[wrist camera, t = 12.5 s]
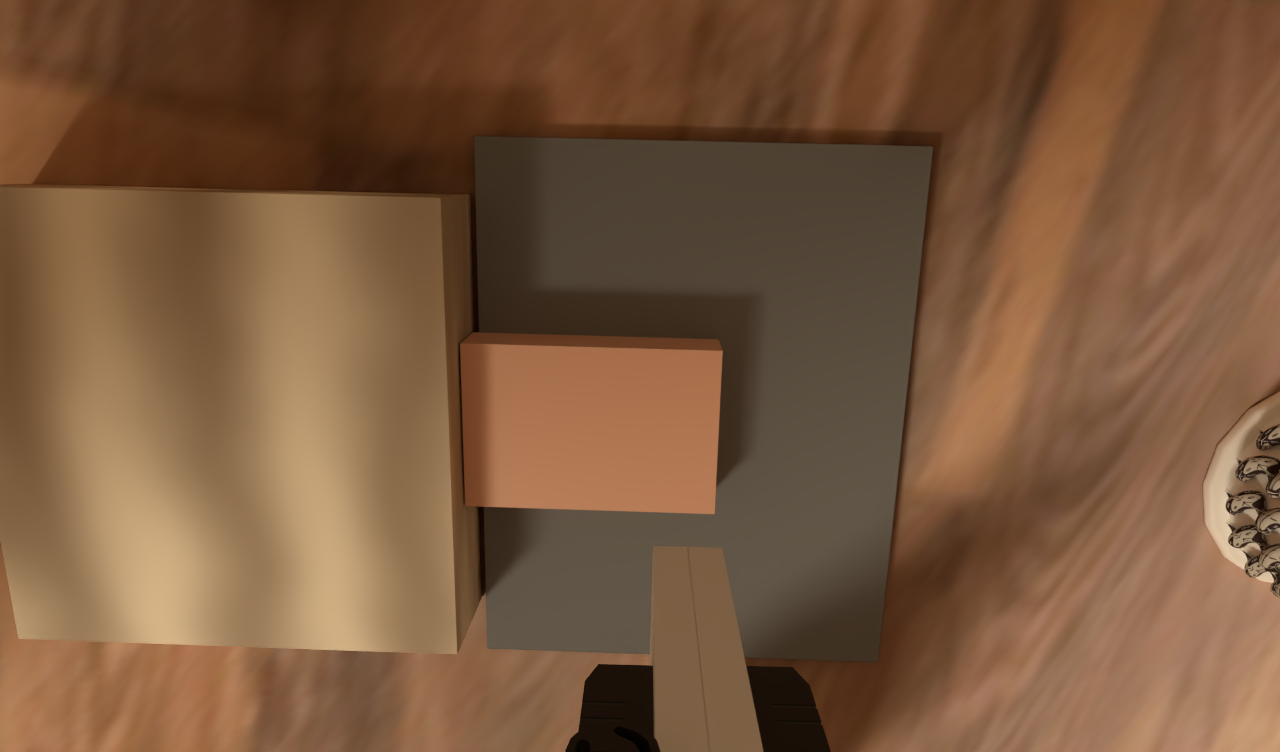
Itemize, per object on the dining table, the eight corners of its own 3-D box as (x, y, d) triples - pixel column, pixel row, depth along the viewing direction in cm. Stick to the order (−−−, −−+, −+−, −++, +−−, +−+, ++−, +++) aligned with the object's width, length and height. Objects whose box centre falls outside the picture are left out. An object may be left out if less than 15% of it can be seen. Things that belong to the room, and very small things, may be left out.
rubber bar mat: (489, 641, 33) (487, 648, 33) (477, 136, 28) (473, 136, 28) (874, 655, 33) (877, 662, 32) (928, 146, 28) (933, 146, 28)
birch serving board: (94, 584, 33) (18, 638, 29) (31, 184, 29) (-66, 185, 25) (481, 597, 33) (457, 654, 29) (470, 194, 29) (440, 197, 25)
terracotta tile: (477, 485, 31) (465, 506, 29) (473, 332, 30) (459, 343, 28) (711, 492, 31) (714, 514, 29) (718, 339, 29) (722, 350, 27)
